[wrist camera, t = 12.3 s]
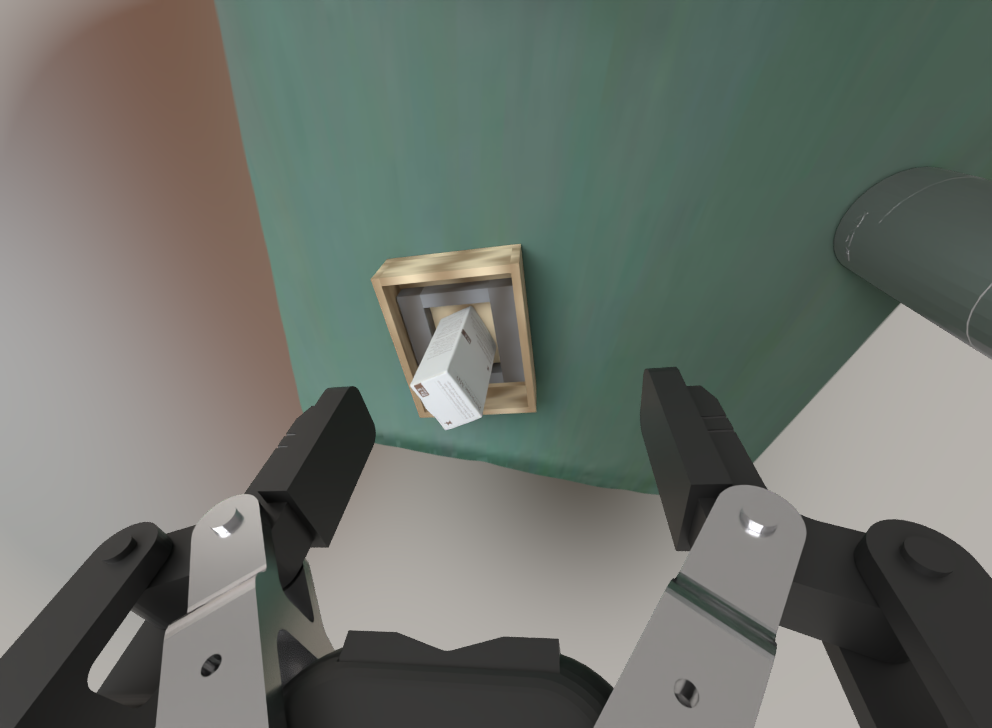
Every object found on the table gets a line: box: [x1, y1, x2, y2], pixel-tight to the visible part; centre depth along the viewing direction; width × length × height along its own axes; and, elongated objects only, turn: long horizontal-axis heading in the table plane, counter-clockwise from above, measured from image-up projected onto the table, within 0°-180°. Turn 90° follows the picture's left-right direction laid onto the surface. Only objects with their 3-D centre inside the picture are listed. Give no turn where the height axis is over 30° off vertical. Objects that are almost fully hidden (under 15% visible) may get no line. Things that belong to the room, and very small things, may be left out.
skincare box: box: [410, 306, 496, 430], centre depth 39 cm, size 6×4×12 cm
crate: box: [371, 244, 536, 418], centre depth 43 cm, size 14×18×5 cm
